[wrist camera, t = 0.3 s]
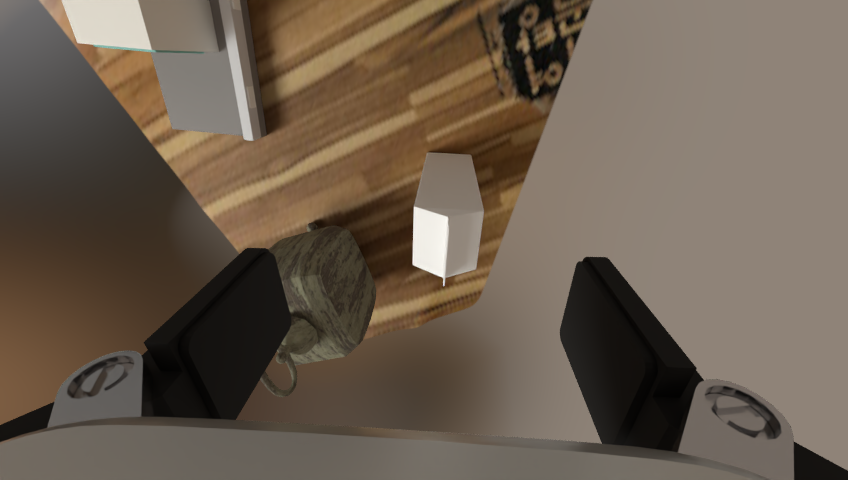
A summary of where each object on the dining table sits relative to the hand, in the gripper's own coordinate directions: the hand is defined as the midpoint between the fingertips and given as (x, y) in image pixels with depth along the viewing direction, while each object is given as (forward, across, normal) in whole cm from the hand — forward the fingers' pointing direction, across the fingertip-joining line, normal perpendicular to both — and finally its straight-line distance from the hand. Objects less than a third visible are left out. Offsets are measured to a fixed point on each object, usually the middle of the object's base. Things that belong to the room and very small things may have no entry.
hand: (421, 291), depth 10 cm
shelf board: (+36, +29, -8) cm, 47 cm away
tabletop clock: (+36, +15, +20) cm, 44 cm away
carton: (+35, +30, -10) cm, 47 cm away
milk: (+36, -1, +7) cm, 37 cm away
